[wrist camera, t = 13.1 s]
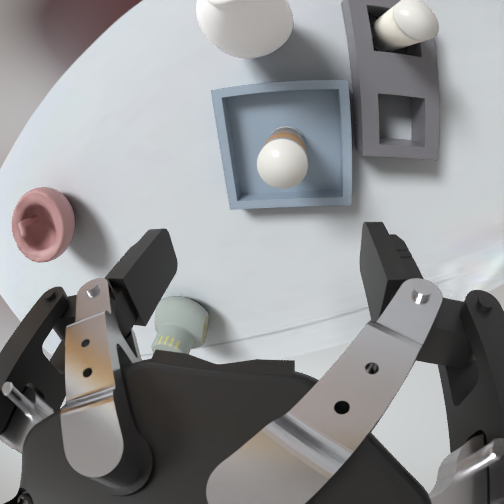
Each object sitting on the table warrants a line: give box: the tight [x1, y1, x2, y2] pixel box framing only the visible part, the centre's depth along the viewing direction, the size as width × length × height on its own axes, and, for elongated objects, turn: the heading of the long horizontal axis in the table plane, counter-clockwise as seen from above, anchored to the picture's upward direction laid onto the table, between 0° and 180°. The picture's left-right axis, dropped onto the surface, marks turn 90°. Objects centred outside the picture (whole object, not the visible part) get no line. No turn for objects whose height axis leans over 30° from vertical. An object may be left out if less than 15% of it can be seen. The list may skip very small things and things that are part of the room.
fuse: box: [370, 0, 439, 52], centre depth 17 cm, size 4×4×10 cm
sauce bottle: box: [196, 0, 293, 59], centre depth 16 cm, size 8×8×18 cm
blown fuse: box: [257, 126, 308, 189], centre depth 25 cm, size 4×4×10 cm
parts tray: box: [211, 80, 352, 210], centre depth 29 cm, size 14×14×3 cm
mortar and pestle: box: [12, 187, 75, 262], centre depth 35 cm, size 12×12×11 cm
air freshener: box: [152, 296, 209, 354], centre depth 44 cm, size 11×8×10 cm
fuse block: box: [341, 0, 439, 160], centre depth 22 cm, size 18×9×4 cm, turn 7°
